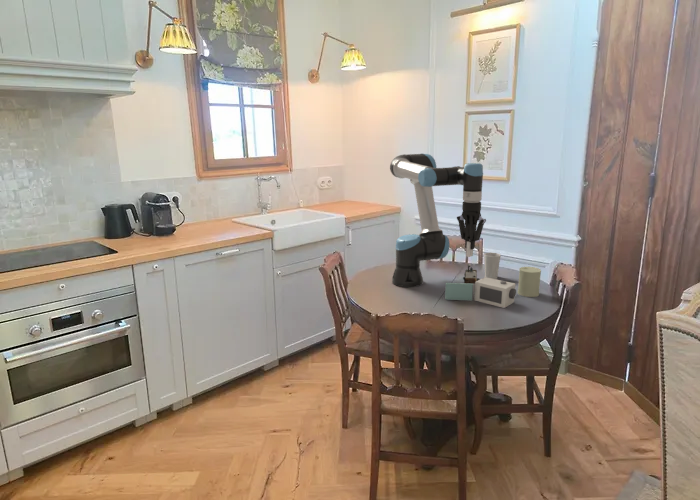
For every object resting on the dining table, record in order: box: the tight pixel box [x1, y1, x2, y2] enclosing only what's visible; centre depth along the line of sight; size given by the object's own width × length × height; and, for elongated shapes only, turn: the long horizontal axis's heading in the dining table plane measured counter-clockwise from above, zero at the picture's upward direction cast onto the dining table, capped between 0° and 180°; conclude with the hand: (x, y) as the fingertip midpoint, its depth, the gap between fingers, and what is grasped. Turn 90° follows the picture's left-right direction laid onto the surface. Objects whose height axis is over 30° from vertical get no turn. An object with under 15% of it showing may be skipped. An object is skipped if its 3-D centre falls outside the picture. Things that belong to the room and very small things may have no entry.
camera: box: [462, 263, 481, 284], centre depth 217 cm, size 15×8×10 cm, turn 163°
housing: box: [474, 276, 517, 309], centre depth 198 cm, size 15×9×9 cm, turn 46°
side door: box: [444, 282, 475, 301], centre depth 201 cm, size 12×2×8 cm, turn 80°
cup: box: [483, 252, 501, 280], centre depth 230 cm, size 8×8×12 cm
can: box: [517, 266, 542, 298], centre depth 206 cm, size 9×9×12 cm
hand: (469, 256), depth 195 cm, fingers closed
